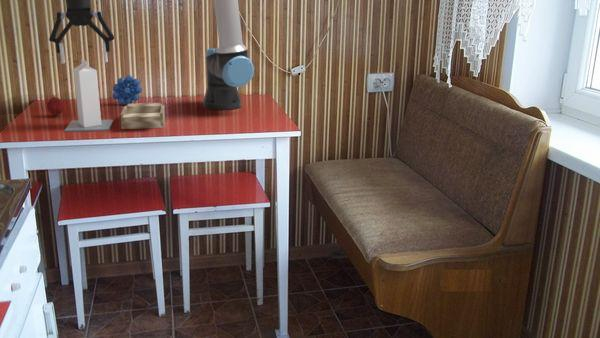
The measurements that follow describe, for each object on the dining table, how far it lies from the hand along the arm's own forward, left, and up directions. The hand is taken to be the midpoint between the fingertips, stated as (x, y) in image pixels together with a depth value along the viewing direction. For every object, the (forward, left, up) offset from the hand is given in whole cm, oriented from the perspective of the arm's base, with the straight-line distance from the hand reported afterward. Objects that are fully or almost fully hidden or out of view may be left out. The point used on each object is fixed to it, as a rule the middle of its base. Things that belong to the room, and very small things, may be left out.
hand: (85, 62), depth 202 cm
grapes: (-10, -35, -22) cm, 42 cm away
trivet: (0, 0, -22) cm, 22 cm away
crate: (-18, -2, -22) cm, 28 cm away
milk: (0, 0, -21) cm, 21 cm away
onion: (+14, -17, -22) cm, 31 cm away
